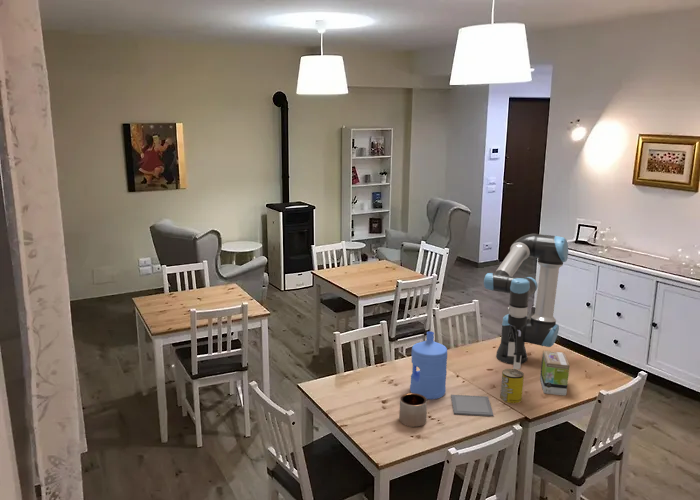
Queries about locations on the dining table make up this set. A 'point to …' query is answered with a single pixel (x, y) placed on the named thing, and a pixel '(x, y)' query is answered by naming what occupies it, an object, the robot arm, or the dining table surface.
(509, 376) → the beverage can
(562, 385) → the tea box
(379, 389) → the dining table surface
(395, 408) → the dining table surface
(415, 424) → the planter
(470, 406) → the plate
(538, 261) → the robot arm
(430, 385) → the water jug
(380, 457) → the dining table surface
